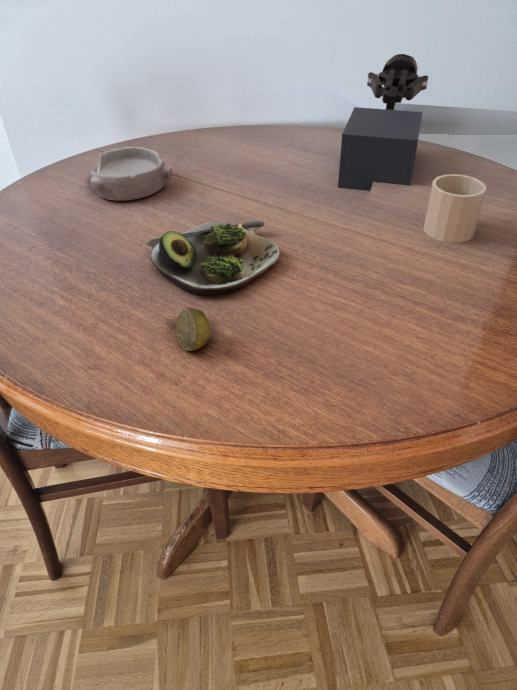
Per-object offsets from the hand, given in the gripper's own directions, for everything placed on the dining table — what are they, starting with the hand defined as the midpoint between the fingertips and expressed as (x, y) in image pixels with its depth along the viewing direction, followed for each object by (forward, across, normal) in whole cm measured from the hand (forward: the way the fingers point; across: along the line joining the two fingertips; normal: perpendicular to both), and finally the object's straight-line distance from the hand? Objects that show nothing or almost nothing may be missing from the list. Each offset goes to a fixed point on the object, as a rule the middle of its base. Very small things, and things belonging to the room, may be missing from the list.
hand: (390, 103), depth 105 cm
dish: (+28, +43, -10) cm, 52 cm away
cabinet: (+12, 0, -9) cm, 15 cm away
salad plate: (+49, +20, -10) cm, 54 cm away
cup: (+34, -13, -10) cm, 37 cm away
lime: (+67, +16, -10) cm, 69 cm away
